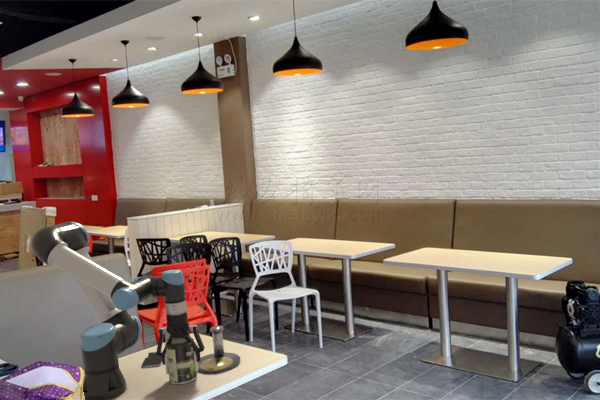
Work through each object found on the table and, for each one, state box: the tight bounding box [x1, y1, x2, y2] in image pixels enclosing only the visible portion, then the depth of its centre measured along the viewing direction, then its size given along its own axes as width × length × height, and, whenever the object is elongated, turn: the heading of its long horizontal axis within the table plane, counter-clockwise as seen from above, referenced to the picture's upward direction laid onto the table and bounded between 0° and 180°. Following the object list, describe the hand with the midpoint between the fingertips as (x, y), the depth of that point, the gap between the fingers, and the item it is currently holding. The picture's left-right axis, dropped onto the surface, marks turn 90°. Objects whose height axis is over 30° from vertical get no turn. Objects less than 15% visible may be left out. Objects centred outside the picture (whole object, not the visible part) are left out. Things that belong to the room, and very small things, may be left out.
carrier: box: [198, 325, 241, 374], centre depth 214 cm, size 18×19×12 cm
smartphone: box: [141, 351, 163, 369], centre depth 224 cm, size 8×1×15 cm
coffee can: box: [164, 337, 198, 385], centre depth 202 cm, size 10×10×14 cm
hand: (182, 371), depth 202 cm, fingers closed on coffee can, 10 cm apart
